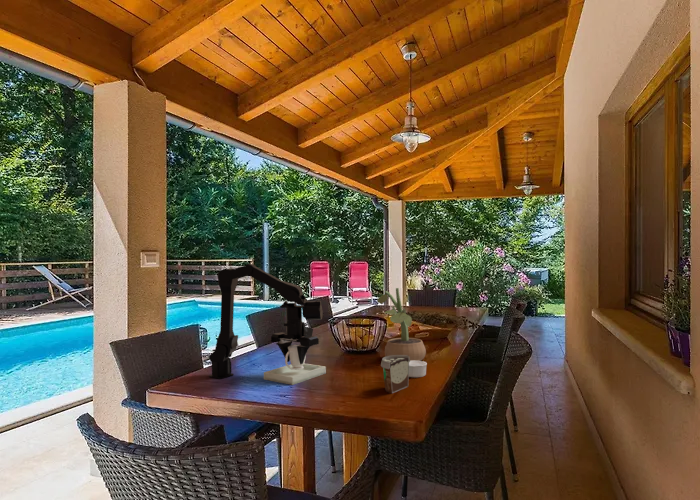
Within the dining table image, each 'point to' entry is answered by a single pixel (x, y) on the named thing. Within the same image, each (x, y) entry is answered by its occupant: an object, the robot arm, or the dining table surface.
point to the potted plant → (402, 332)
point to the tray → (294, 374)
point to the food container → (395, 372)
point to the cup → (294, 358)
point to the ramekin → (417, 368)
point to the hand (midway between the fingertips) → (294, 362)
